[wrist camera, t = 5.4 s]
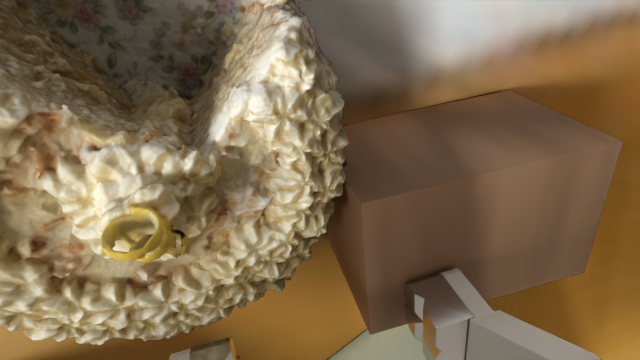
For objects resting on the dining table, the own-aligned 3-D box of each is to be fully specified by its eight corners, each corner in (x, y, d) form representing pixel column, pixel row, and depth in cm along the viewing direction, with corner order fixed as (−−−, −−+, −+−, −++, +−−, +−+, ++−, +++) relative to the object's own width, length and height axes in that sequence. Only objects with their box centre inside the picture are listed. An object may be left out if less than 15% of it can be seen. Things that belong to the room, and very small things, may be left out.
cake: (320, 221, 15) (394, 347, 11) (2, 302, 12) (-60, 518, 8) (323, -116, 9) (485, -115, 5) (-298, -119, 6) (-1143, -127, 2)
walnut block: (370, 335, 12) (584, 272, 13) (361, 203, 9) (623, 141, 10) (328, 239, 15) (495, 198, 16) (314, 130, 13) (509, 89, 14)
